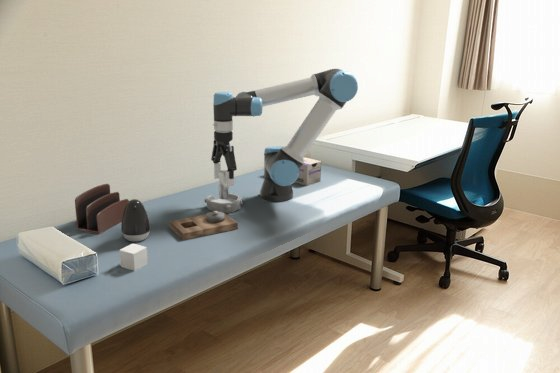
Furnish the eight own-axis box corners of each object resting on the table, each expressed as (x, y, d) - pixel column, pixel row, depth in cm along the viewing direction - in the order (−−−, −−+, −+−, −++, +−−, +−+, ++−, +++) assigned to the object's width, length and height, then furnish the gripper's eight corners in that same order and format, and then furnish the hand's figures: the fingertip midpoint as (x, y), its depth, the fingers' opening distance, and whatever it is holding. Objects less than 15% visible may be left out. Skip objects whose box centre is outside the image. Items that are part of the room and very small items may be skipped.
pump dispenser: (122, 246, 183) (118, 205, 178) (121, 234, 192) (119, 195, 187) (151, 243, 185) (149, 203, 181) (150, 232, 195) (148, 194, 190)
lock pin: (225, 195, 223) (225, 169, 219) (230, 198, 219) (230, 172, 216) (217, 197, 221) (217, 171, 217) (221, 199, 217) (221, 173, 214)
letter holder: (76, 230, 195) (73, 195, 191) (110, 213, 213) (107, 180, 209) (99, 234, 192) (95, 198, 188) (131, 217, 210) (128, 183, 206)
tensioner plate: (221, 218, 210) (221, 203, 208) (237, 229, 199) (237, 214, 197) (169, 228, 199) (168, 213, 197) (183, 241, 188) (182, 225, 186)
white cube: (133, 259, 173) (132, 243, 171) (147, 264, 170) (146, 247, 169) (120, 266, 168) (119, 249, 166) (134, 271, 165) (133, 253, 163)
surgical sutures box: (320, 181, 262) (321, 161, 258) (306, 186, 254) (307, 165, 251) (283, 171, 278) (284, 152, 274) (269, 175, 270) (270, 155, 267)
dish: (200, 208, 222) (200, 197, 220) (225, 201, 231) (225, 190, 230) (222, 217, 212) (222, 205, 210) (247, 209, 221) (247, 198, 220)
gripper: (202, 126, 219) (203, 175, 226) (228, 137, 200) (228, 191, 206) (218, 124, 223) (219, 173, 229) (245, 135, 204) (245, 188, 210)
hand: (223, 182), depth 218 cm, fingers open, 11 cm apart
